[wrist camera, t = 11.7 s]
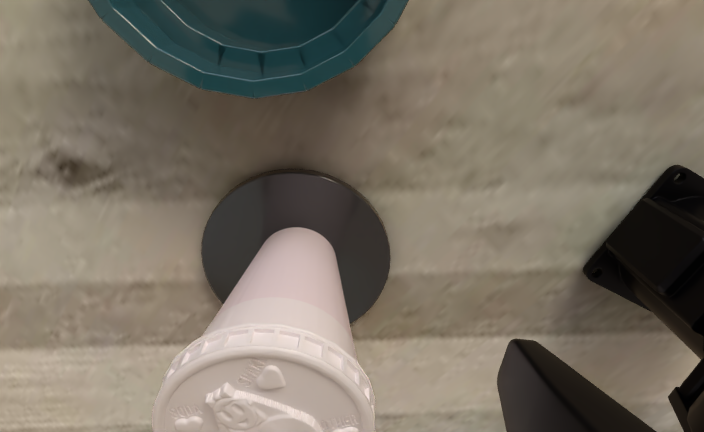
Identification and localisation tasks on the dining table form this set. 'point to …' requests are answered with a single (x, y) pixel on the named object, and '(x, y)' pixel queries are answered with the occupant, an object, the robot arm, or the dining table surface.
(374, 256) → the coaster
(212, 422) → the smoothie
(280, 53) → the teal faceted dish
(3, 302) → the dining table surface
